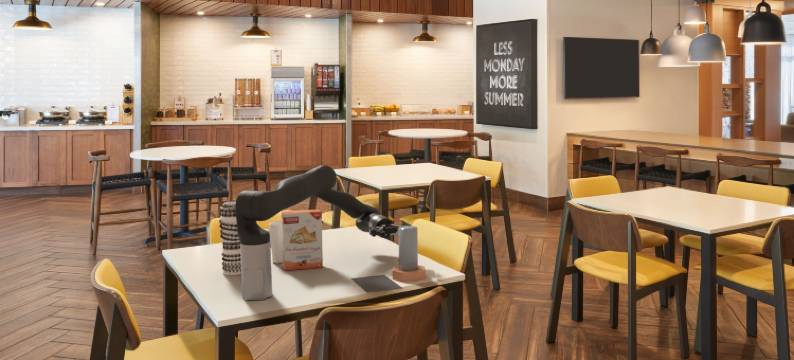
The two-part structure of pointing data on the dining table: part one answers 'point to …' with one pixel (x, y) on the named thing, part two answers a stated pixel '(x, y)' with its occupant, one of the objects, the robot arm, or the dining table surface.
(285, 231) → the cracker box
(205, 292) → the dining table surface
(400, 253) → the grey pillar
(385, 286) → the mat
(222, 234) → the decorative candle
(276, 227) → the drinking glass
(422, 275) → the pink donut
